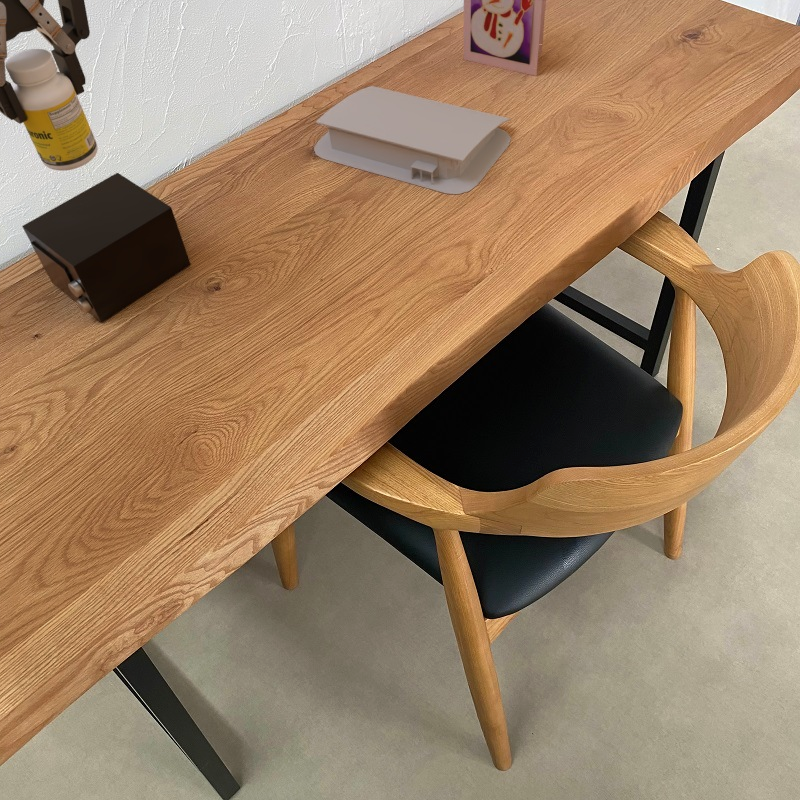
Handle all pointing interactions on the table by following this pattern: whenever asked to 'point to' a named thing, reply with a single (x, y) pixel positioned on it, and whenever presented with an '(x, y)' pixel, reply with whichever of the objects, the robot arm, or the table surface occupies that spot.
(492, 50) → the greeting card
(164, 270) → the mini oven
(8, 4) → the robot arm
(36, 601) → the table surface
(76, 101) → the supplement bottle
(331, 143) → the miniature building model
